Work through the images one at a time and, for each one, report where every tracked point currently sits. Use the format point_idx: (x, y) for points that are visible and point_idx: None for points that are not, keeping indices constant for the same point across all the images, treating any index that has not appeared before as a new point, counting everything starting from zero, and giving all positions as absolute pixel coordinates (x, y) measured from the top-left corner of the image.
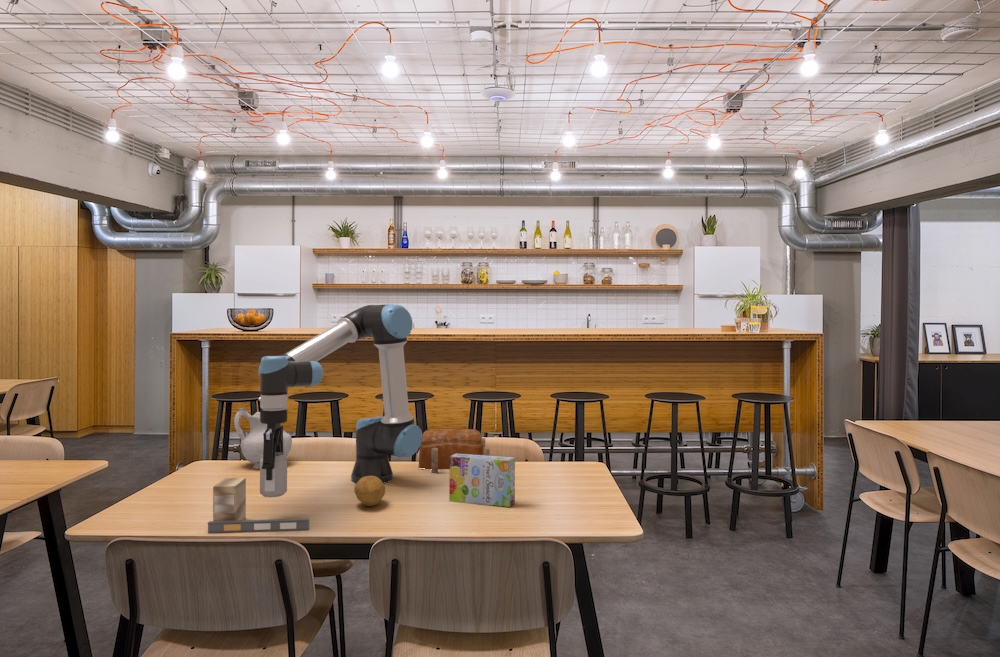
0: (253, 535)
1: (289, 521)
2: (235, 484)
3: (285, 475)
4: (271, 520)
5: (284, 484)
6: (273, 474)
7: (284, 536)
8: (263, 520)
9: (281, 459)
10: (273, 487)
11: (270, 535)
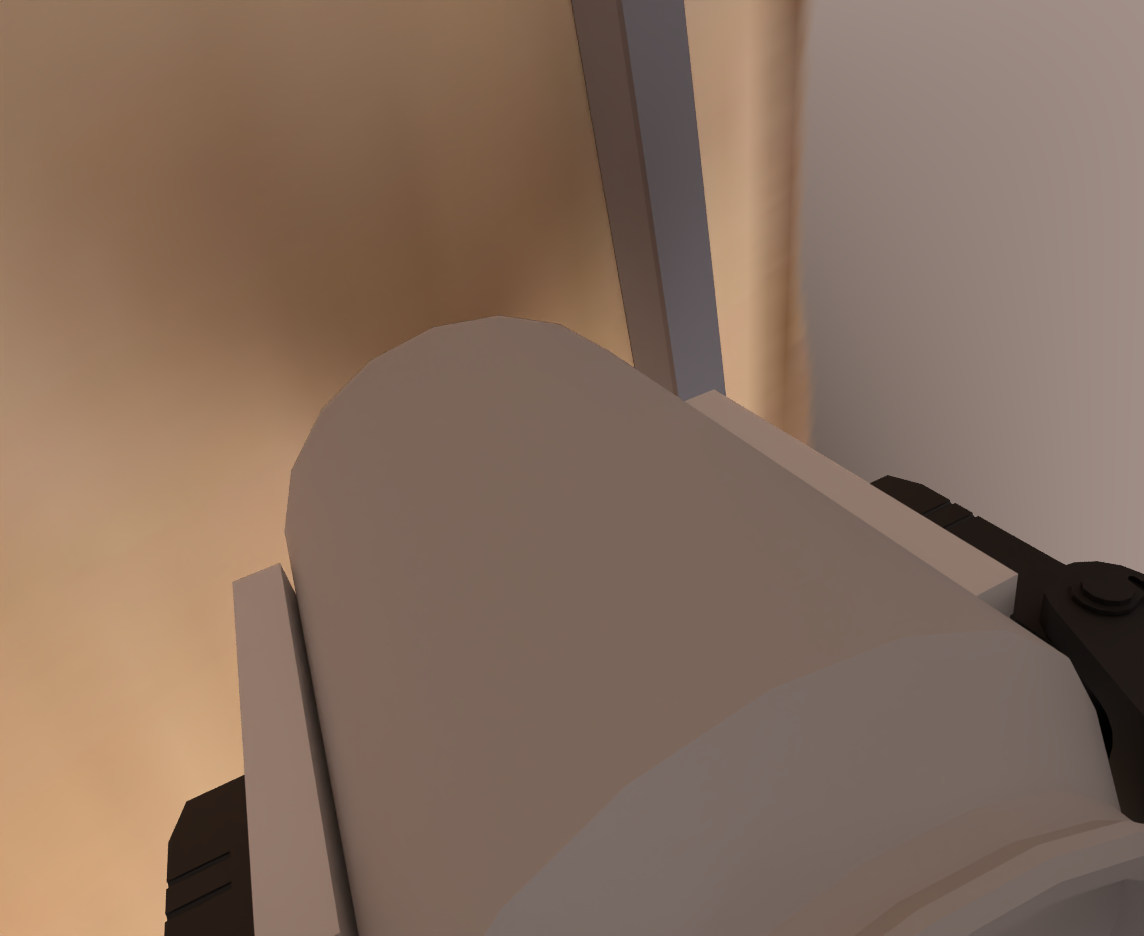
0: (753, 312)
1: (680, 40)
2: None
3: (615, 420)
4: (691, 249)
5: (572, 358)
6: (906, 524)
7: (780, 16)
8: (693, 327)
9: (1035, 698)
10: (748, 423)
11: (755, 169)
